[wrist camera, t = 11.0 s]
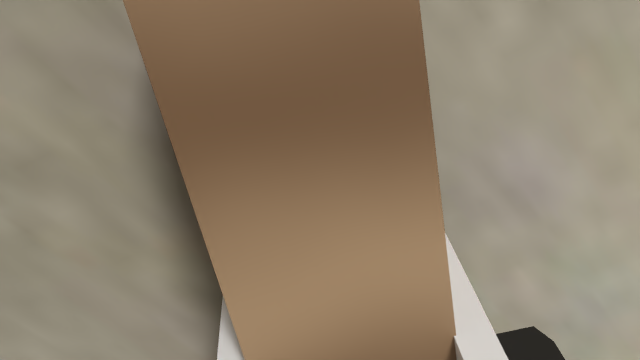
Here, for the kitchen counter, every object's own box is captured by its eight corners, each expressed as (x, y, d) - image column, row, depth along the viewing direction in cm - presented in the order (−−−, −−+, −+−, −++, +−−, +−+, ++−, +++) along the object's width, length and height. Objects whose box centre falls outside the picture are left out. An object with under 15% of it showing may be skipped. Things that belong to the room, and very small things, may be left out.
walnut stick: (149, -109, 11) (87, -103, 7) (352, -153, 11) (400, -170, 7) (333, 518, 21) (350, 672, 17) (446, 495, 21) (490, 644, 17)
